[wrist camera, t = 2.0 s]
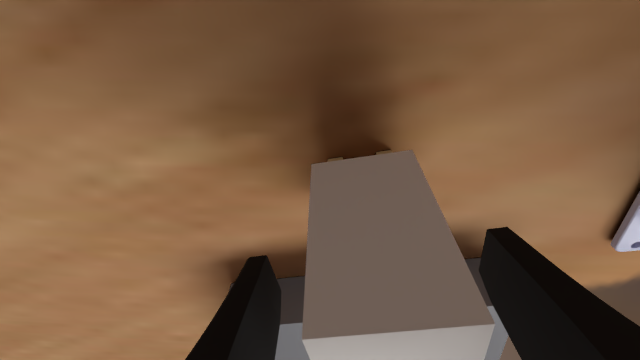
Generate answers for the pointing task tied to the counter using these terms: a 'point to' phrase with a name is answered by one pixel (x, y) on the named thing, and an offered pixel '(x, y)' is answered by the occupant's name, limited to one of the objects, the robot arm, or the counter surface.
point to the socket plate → (290, 344)
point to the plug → (386, 268)
